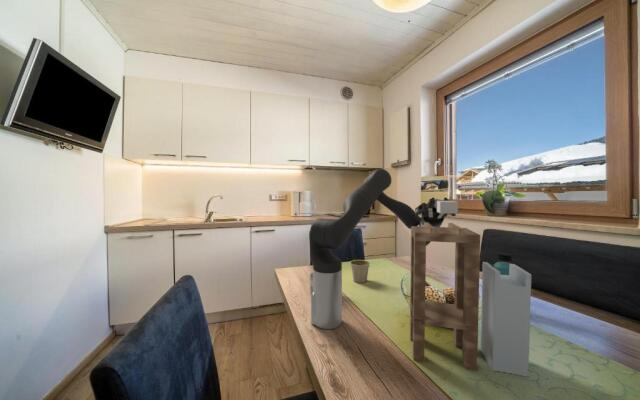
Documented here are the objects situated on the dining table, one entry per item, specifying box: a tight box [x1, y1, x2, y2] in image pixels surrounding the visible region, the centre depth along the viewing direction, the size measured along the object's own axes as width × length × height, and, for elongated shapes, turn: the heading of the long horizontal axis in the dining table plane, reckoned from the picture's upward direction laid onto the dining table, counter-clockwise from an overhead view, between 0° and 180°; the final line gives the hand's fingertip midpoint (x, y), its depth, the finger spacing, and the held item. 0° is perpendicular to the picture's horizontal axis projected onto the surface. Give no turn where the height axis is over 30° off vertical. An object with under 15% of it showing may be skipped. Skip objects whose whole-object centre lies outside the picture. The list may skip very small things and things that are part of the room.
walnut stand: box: [409, 222, 481, 372], centre depth 65 cm, size 14×11×33 cm
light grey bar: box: [434, 198, 459, 214], centre depth 78 cm, size 4×20×3 cm, turn 165°
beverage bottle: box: [493, 252, 513, 275], centre depth 87 cm, size 6×7×20 cm
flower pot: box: [349, 259, 371, 284], centre depth 116 cm, size 9×9×9 cm
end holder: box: [480, 261, 532, 378], centre depth 61 cm, size 7×8×24 cm
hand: (439, 200), depth 81 cm, fingers closed on light grey bar, 3 cm apart
